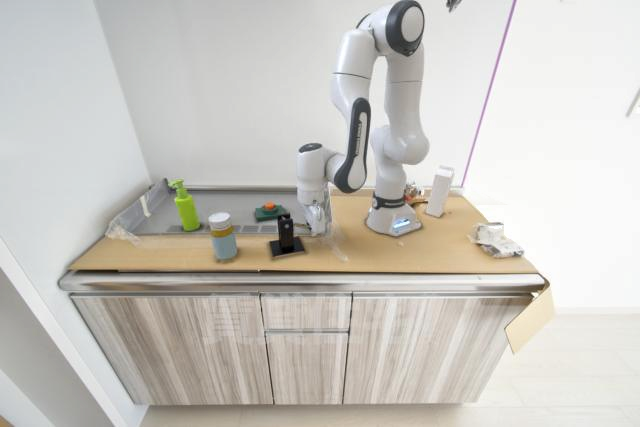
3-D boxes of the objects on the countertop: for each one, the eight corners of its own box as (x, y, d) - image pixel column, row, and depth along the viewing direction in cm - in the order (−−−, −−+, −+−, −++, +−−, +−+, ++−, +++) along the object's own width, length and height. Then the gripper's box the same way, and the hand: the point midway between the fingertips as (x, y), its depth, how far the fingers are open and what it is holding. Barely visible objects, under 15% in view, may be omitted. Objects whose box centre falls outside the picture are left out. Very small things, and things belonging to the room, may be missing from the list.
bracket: (298, 238, 91) (297, 208, 85) (305, 252, 83) (304, 221, 77) (269, 243, 88) (266, 213, 82) (273, 259, 80) (270, 226, 74)
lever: (309, 227, 88) (312, 222, 87) (313, 235, 84) (316, 229, 83) (278, 220, 82) (281, 214, 81) (281, 227, 78) (283, 221, 77)
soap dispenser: (178, 230, 95) (163, 182, 85) (192, 222, 100) (179, 176, 91) (189, 233, 93) (175, 185, 83) (203, 225, 98) (191, 179, 89)
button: (273, 205, 107) (273, 202, 106) (275, 209, 104) (274, 205, 103) (264, 206, 106) (264, 203, 105) (265, 210, 103) (265, 207, 102)
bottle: (231, 263, 78) (223, 224, 71) (212, 260, 79) (202, 221, 72) (241, 250, 84) (235, 213, 77) (223, 248, 85) (215, 210, 78)
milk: (438, 217, 107) (452, 170, 96) (424, 213, 110) (436, 166, 100) (443, 213, 111) (457, 166, 100) (429, 208, 114) (441, 163, 104)
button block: (282, 208, 112) (281, 201, 110) (285, 218, 105) (285, 209, 103) (255, 212, 109) (254, 204, 107) (257, 222, 101) (256, 213, 99)
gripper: (331, 207, 71) (329, 245, 78) (311, 182, 88) (311, 215, 95) (310, 210, 69) (310, 248, 76) (294, 184, 86) (295, 218, 93)
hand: (311, 230), depth 85 cm, fingers closed on lever, 5 cm apart
